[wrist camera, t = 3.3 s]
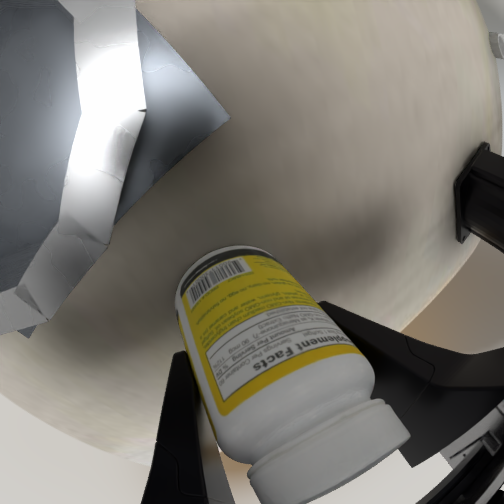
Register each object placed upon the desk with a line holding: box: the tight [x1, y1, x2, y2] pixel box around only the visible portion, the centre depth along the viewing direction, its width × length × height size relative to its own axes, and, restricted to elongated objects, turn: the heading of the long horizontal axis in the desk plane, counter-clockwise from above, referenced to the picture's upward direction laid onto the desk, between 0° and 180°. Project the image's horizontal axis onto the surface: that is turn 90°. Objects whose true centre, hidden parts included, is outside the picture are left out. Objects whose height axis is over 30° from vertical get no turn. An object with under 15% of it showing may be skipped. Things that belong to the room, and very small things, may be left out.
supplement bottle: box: [175, 246, 410, 504], centre depth 8 cm, size 5×5×8 cm
